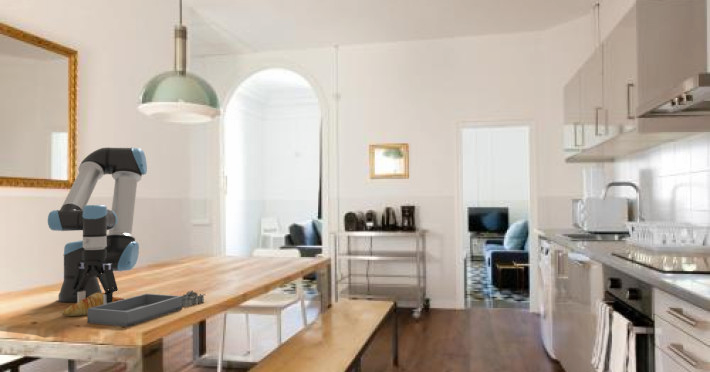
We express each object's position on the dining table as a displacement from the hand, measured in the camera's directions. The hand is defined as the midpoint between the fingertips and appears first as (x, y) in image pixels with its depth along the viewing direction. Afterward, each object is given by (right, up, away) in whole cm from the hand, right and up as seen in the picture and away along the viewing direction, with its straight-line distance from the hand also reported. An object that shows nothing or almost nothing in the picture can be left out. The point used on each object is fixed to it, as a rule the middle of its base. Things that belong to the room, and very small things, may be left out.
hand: (94, 311), depth 173 cm
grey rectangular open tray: (+18, 0, -6) cm, 19 cm away
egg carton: (+29, -1, +13) cm, 32 cm away
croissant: (0, -1, 0) cm, 1 cm away
